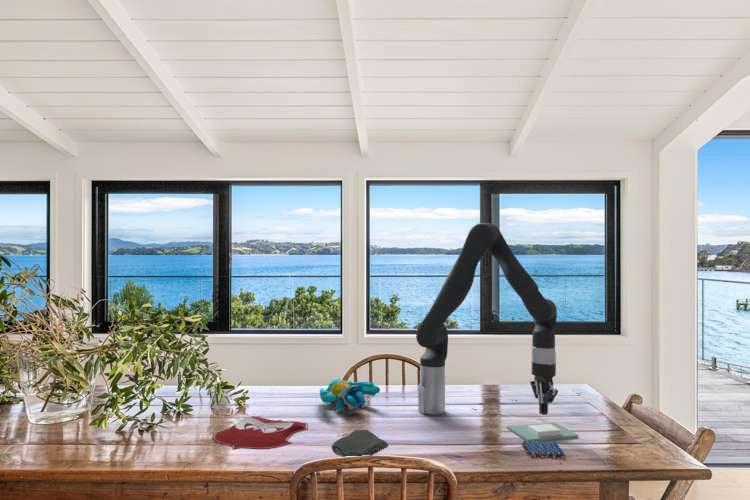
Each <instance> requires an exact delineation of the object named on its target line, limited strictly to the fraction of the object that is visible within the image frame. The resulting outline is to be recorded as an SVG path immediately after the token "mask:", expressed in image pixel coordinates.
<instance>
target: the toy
mask: <svg viewBox="0 0 750 500" xmlns="http://www.w3.org/2000/svg"><path fill="white" fill-rule="evenodd" d="M374 384H375V383H373V382H372V381H351V380H349V381H347V380H345V379H341V378H336V379H333V380H332V381H331V382H330V383H329V384H328V386H327V387H326V389H325V388H324V387H321V388H320V389H319V396H320V397H319V398H320V400H321V401H322V403H326V404H330V403H331V404H333V405H334V406H335V410H336V413H339V412H340V411H342V410H345V406H344V405H347V407H348V408H349V410H354V409H355V408H356V407H359V408H361V409H362V408H363V409H364V407H365V406H366V405H365V404H366V403H367V401H366V399H365V396H364V395H366V396H372V397H374V396H376V394H379V393H380V391H381V388H380V387H379V386H377V385H374Z"/></svg>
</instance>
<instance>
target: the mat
mask: <svg viewBox="0 0 750 500" xmlns="http://www.w3.org/2000/svg"><path fill="white" fill-rule="evenodd" d="M543 424H551V425H553V426H554V427H556V428H558V429H560V430H561V435H555V436H544V437H537V436H536V435H534V434H533V433H531V432H529V431H528V426H531V425H543ZM506 428H507V430H509V431H510V432H512V433H513V434H514V435H516V436H518V437H519V438H520V439H522V440H523V441H528V442H529V441H532V442H533V441H536V442H537V441H538V442H539V441H541V442H542V441H543V442H544V441H545V442H549V441H556V440H557V441H558V440H568V439H579V434H576V433H575V432H573V431H571V430H569V428H566V427H564V426H562V425H560V424H558V423H557V422H555V421H553V422H542V423H541V422H540V423H529V424H528V423H527V424H517V425H507V426H506Z"/></svg>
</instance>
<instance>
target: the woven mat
mask: <svg viewBox="0 0 750 500" xmlns="http://www.w3.org/2000/svg"><path fill="white" fill-rule="evenodd" d="M521 445H522V448H523V450H525V453H526V455H527V456H528V458H530V459H531V458H537V459H543V458H545V459H548V458H549V459H552V458H553V459H556V458H557V460H560V459H562V460H563V459H564V458H565V457H566V455H565V452H564V451H563V449H562V447H560V445H559V444H558V443H557V441H552V440H548V441H537V442H536V441H533V442H532V441H529V442H528V441H525V440H523V441H522V442H521Z"/></svg>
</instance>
